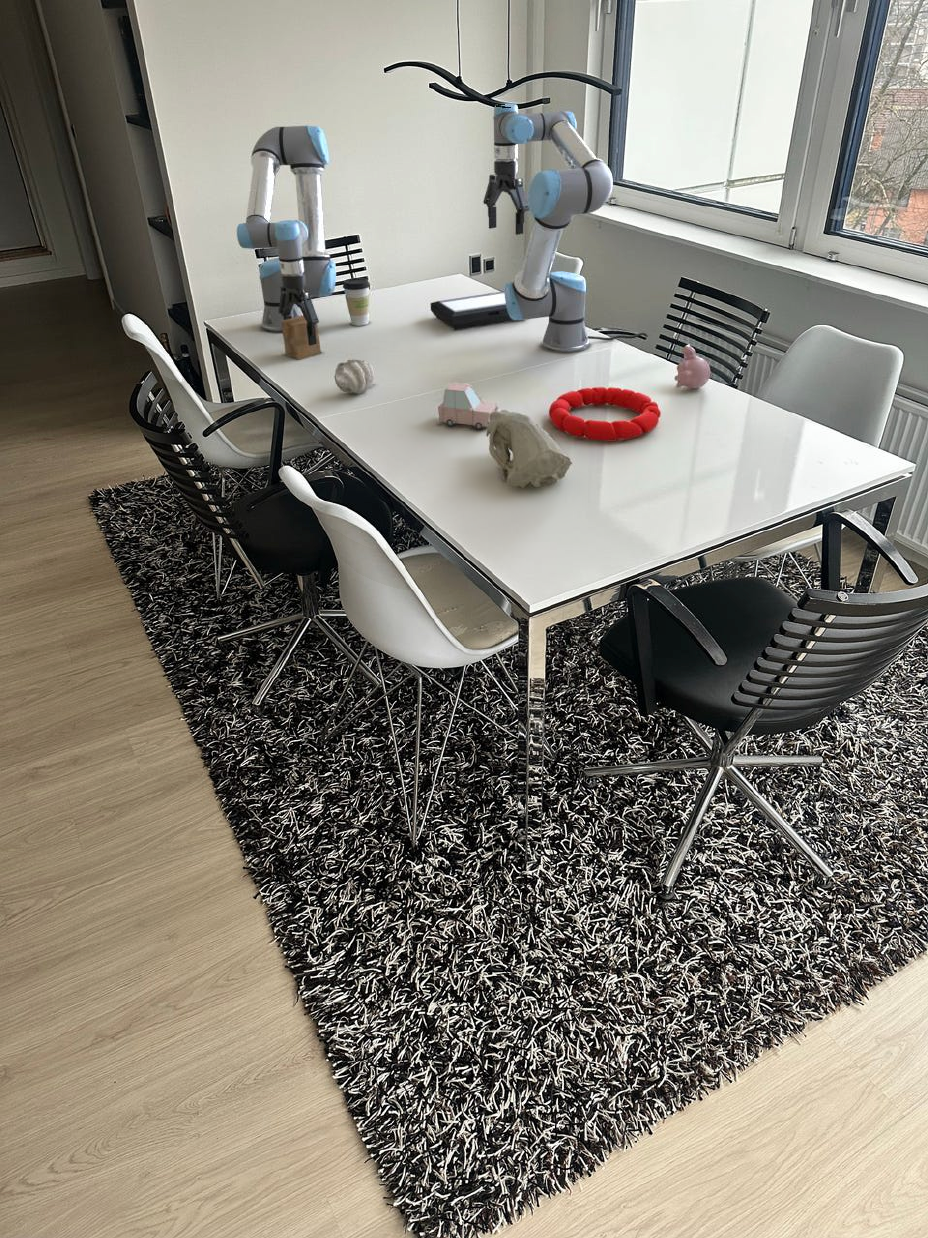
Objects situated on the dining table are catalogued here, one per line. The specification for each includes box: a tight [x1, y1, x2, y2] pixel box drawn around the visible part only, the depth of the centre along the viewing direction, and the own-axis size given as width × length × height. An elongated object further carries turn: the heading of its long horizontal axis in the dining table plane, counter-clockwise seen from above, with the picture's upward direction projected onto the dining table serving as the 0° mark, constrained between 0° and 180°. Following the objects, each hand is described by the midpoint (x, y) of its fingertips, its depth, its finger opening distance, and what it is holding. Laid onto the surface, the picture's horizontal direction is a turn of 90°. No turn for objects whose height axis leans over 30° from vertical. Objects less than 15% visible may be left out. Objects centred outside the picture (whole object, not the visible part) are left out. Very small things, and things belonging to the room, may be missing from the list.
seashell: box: [333, 359, 375, 394], centre depth 265 cm, size 10×15×10 cm
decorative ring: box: [548, 386, 661, 442], centre depth 242 cm, size 7×30×30 cm
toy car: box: [437, 382, 499, 431], centre depth 243 cm, size 9×15×10 cm, turn 70°
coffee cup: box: [342, 277, 371, 327], centre depth 323 cm, size 10×10×15 cm
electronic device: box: [430, 290, 516, 331], centre depth 325 cm, size 32×6×20 cm
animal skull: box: [485, 409, 573, 489], centre depth 216 cm, size 17×25×20 cm
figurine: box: [674, 344, 711, 390], centre depth 259 cm, size 9×11×12 cm
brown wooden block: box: [281, 314, 322, 360], centre depth 297 cm, size 8×9×11 cm
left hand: (301, 340), depth 297 cm, fingers open, 13 cm apart
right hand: (505, 230), depth 296 cm, fingers open, 13 cm apart
